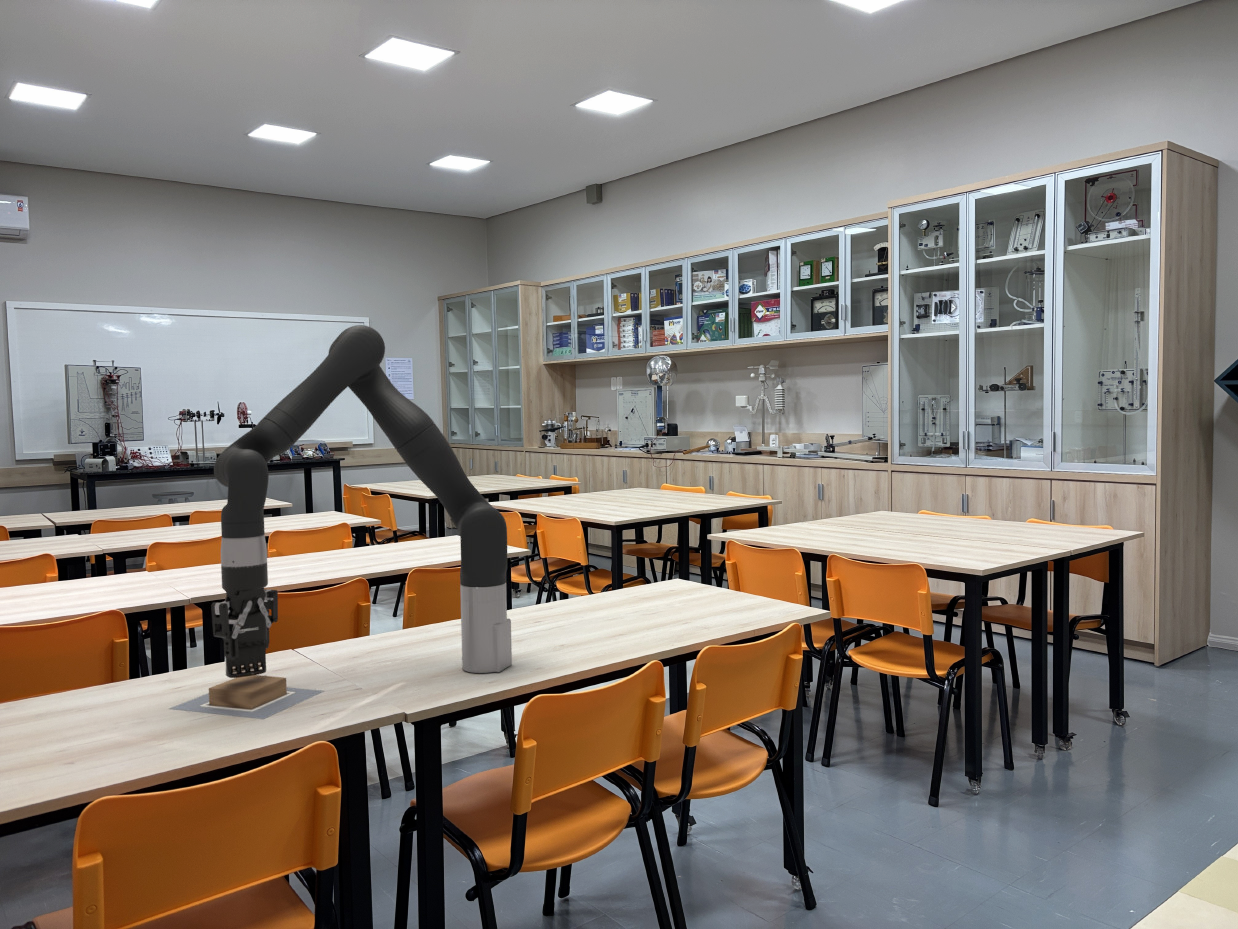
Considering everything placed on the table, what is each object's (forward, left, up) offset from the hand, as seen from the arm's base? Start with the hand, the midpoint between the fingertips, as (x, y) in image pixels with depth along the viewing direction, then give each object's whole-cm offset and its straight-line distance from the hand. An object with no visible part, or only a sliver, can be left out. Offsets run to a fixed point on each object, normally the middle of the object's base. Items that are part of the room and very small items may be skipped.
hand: (247, 653), depth 154 cm
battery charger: (0, 0, -4) cm, 4 cm away
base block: (0, 0, -8) cm, 8 cm away
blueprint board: (0, 0, -9) cm, 9 cm away
